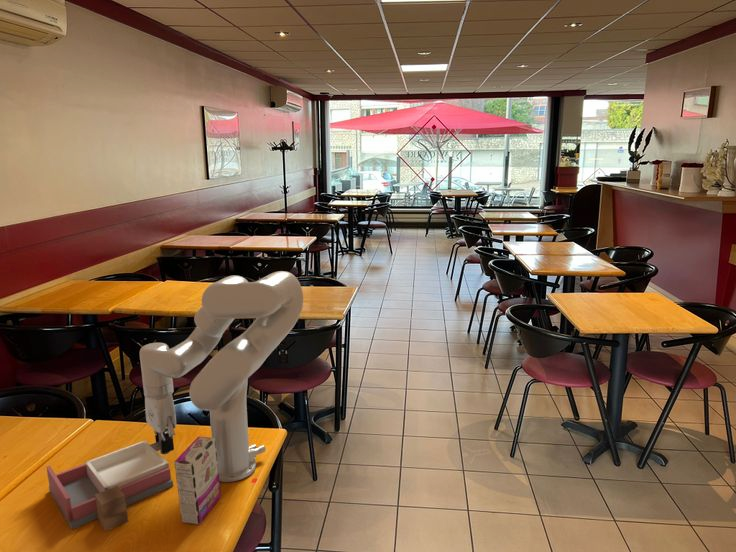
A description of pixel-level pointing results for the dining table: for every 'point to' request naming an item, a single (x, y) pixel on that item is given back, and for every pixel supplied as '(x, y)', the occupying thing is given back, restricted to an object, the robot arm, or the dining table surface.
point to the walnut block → (111, 508)
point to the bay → (96, 492)
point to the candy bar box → (197, 480)
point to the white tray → (126, 465)
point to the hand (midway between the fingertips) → (165, 448)
